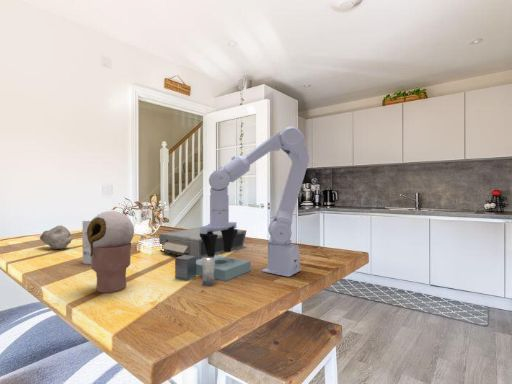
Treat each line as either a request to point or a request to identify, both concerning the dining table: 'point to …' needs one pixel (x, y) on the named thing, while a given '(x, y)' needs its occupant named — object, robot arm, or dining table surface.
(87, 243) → the ink box
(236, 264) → the socket block
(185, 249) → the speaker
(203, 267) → the round bit
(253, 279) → the dining table surface
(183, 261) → the square bar
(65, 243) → the stone
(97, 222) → the ice cream cone
